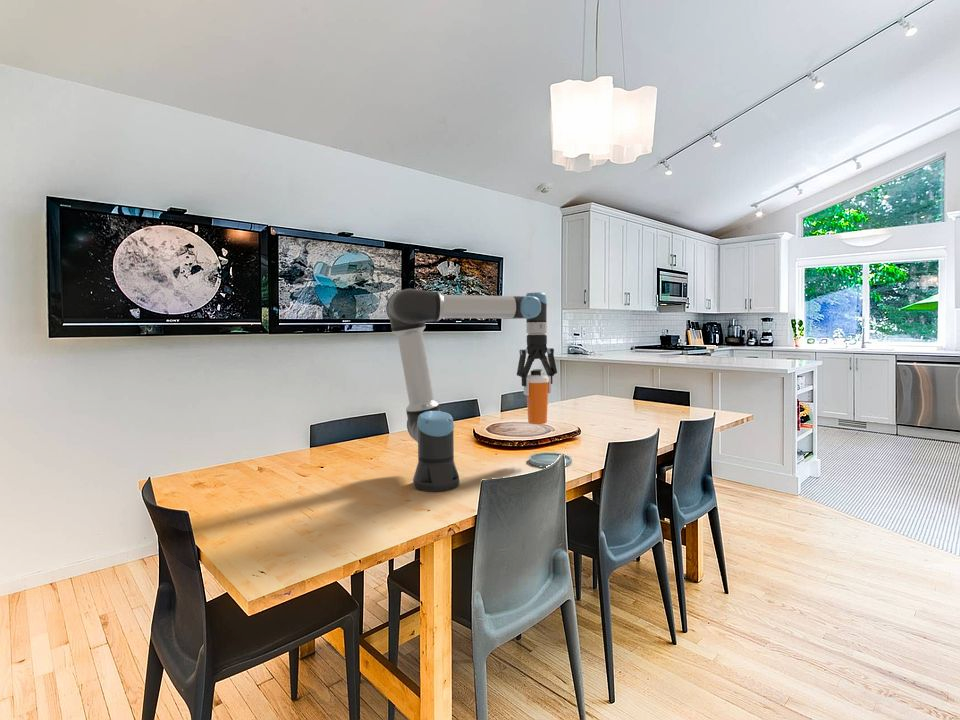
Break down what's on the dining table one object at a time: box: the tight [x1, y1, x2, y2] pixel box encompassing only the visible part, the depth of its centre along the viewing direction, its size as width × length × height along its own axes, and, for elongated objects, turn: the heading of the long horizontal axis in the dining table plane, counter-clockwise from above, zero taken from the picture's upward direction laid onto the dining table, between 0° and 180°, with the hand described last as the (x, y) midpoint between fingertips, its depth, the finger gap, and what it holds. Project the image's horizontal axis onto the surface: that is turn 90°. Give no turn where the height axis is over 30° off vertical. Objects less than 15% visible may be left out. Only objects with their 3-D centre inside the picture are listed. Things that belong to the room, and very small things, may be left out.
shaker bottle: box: [526, 368, 549, 425], centre depth 193 cm, size 9×9×20 cm
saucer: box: [528, 451, 573, 468], centre depth 194 cm, size 16×16×2 cm
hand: (537, 393), depth 193 cm, fingers closed on shaker bottle, 9 cm apart
